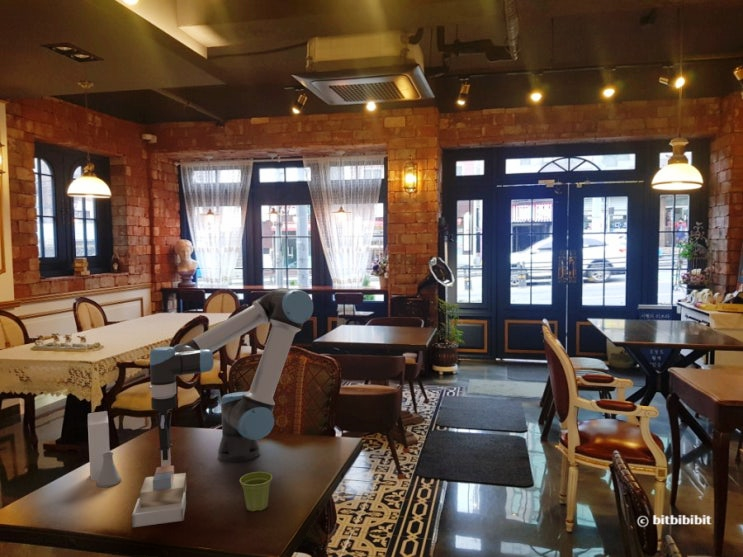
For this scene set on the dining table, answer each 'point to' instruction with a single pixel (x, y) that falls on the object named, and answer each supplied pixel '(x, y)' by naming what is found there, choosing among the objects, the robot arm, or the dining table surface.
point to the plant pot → (256, 490)
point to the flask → (108, 472)
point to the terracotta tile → (165, 470)
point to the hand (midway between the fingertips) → (166, 468)
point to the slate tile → (162, 481)
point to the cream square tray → (163, 492)
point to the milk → (97, 441)
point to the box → (158, 513)
